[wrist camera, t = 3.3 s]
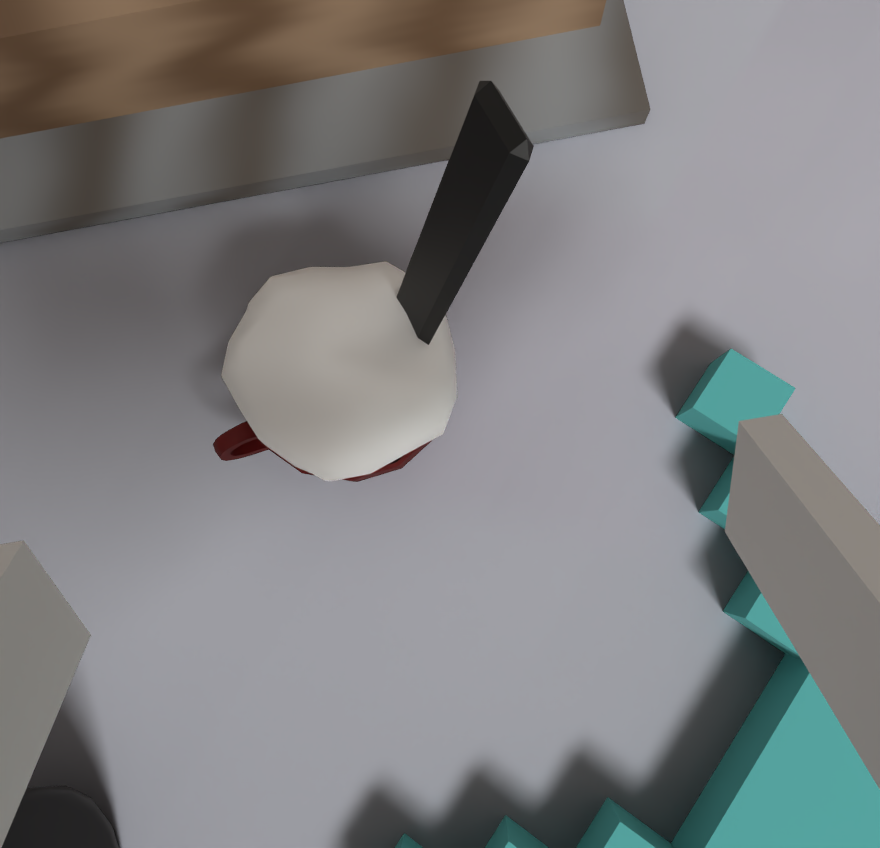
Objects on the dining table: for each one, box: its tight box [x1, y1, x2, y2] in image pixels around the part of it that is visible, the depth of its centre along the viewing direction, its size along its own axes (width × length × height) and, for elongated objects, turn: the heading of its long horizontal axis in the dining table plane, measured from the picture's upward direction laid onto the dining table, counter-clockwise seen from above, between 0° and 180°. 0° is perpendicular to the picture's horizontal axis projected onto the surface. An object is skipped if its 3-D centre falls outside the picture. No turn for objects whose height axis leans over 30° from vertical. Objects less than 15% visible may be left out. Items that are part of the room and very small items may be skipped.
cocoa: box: [213, 81, 533, 482], centre depth 17 cm, size 10×6×12 cm, turn 97°
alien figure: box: [395, 349, 880, 848], centre depth 19 cm, size 20×2×20 cm
